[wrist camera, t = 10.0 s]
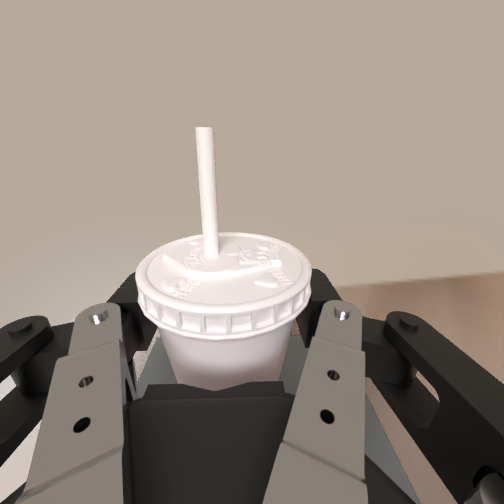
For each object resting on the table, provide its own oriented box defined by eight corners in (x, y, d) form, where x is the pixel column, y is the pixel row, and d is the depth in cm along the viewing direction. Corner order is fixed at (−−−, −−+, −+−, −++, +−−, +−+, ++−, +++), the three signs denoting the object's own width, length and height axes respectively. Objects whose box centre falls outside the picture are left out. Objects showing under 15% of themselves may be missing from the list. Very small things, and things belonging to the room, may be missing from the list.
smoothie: (188, 368, 16) (158, 133, 10) (284, 370, 16) (308, 135, 10) (147, 499, 10) (20, 110, 4) (301, 504, 10) (381, 116, 4)
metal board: (334, 343, 19) (336, 334, 19) (457, 609, 8) (469, 600, 8) (159, 347, 19) (157, 337, 18) (40, 636, 8) (28, 629, 7)
